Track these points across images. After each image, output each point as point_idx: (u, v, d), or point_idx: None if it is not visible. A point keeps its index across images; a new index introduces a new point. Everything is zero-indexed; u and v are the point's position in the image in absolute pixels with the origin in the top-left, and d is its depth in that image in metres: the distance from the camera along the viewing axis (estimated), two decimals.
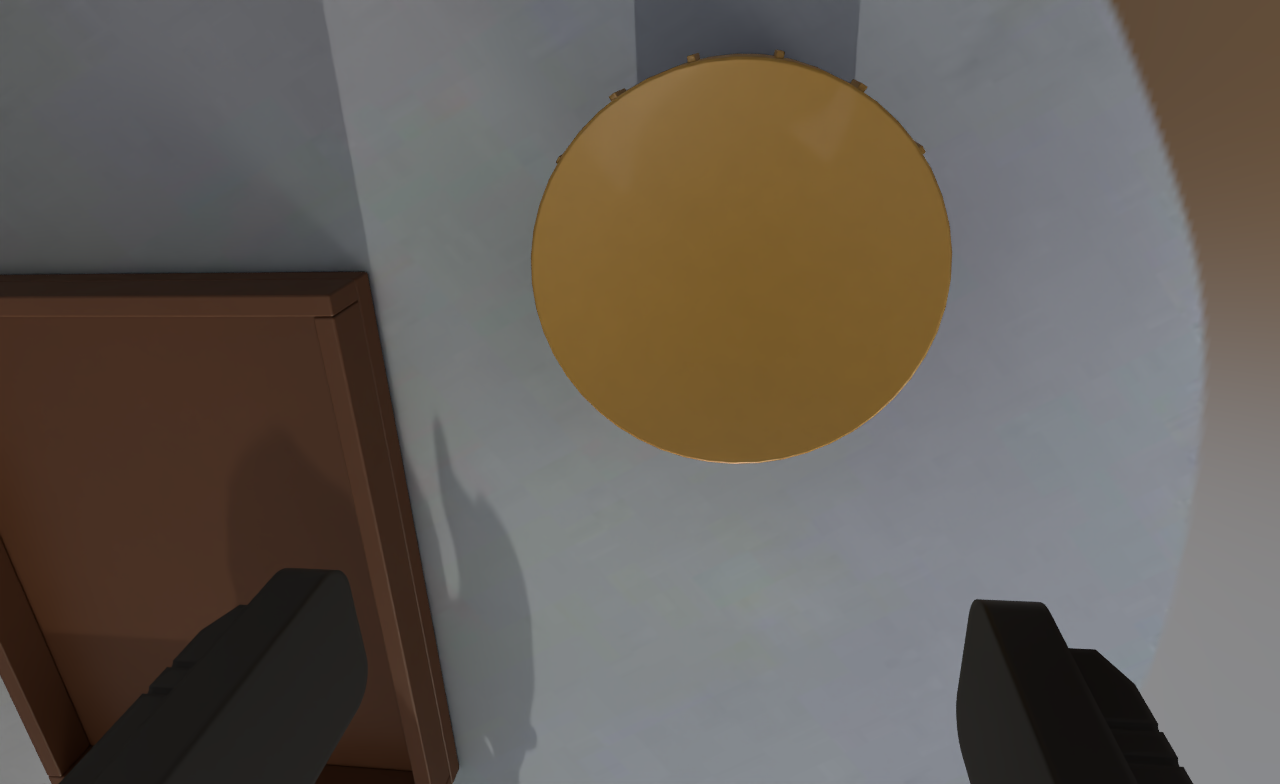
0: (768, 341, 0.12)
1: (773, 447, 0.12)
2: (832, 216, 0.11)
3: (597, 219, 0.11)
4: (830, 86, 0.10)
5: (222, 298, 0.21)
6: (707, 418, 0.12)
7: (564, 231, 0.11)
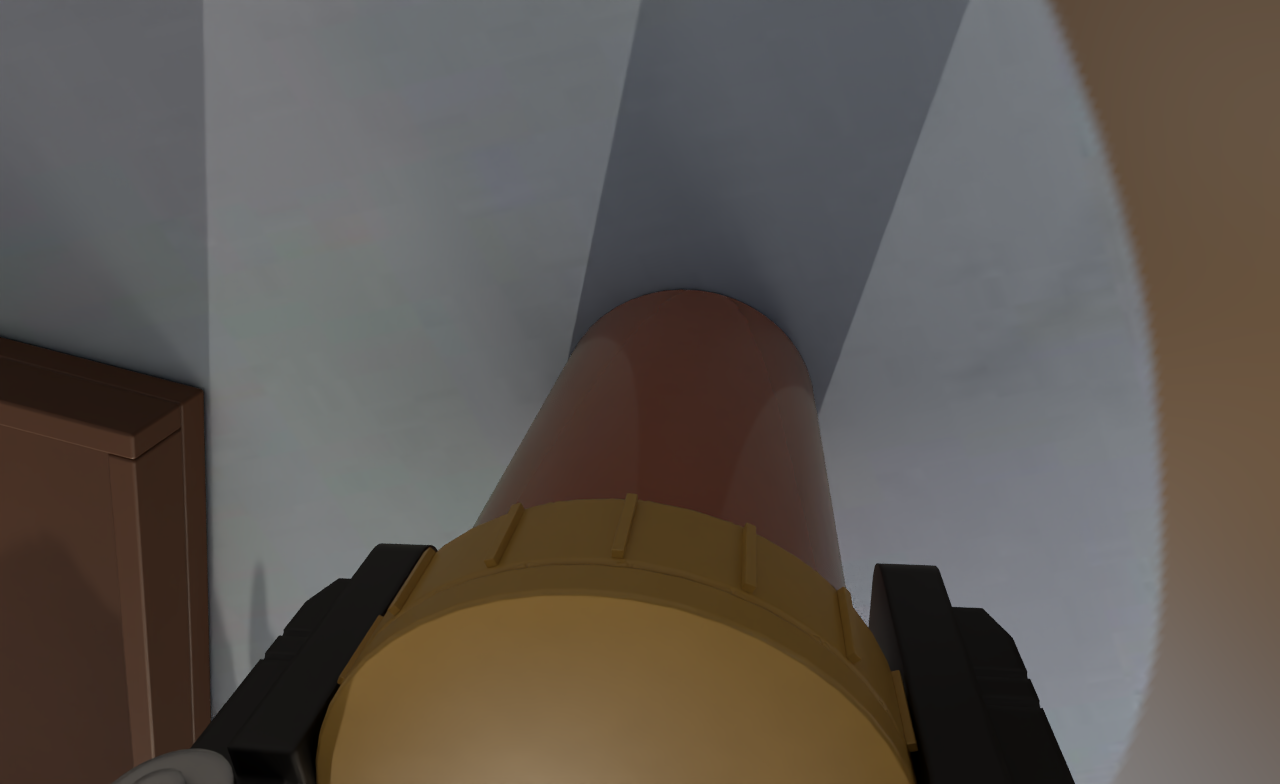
0: None
1: None
2: None
3: (426, 723, 0.07)
4: (809, 680, 0.07)
5: None
6: None
7: (374, 722, 0.07)
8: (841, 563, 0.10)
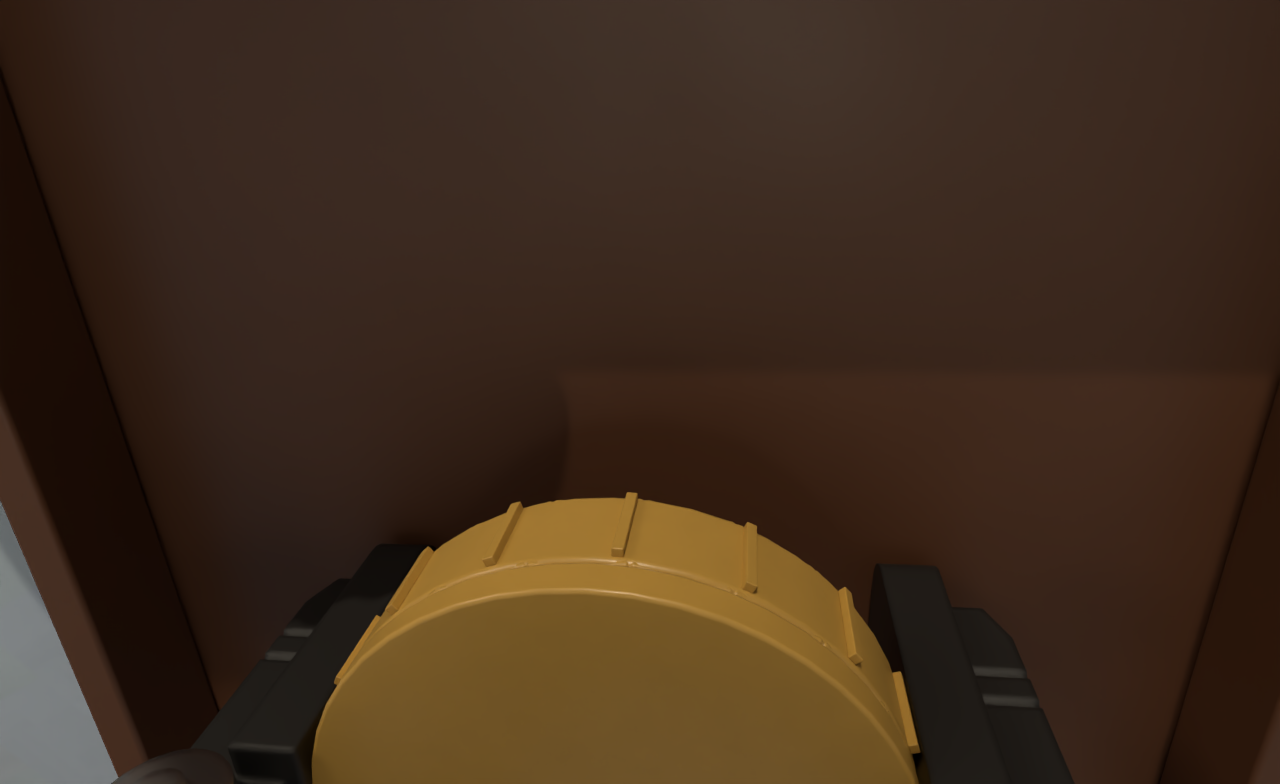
0: None
1: None
2: None
3: (424, 723, 0.07)
4: (811, 680, 0.07)
5: None
6: None
7: (371, 722, 0.07)
8: None
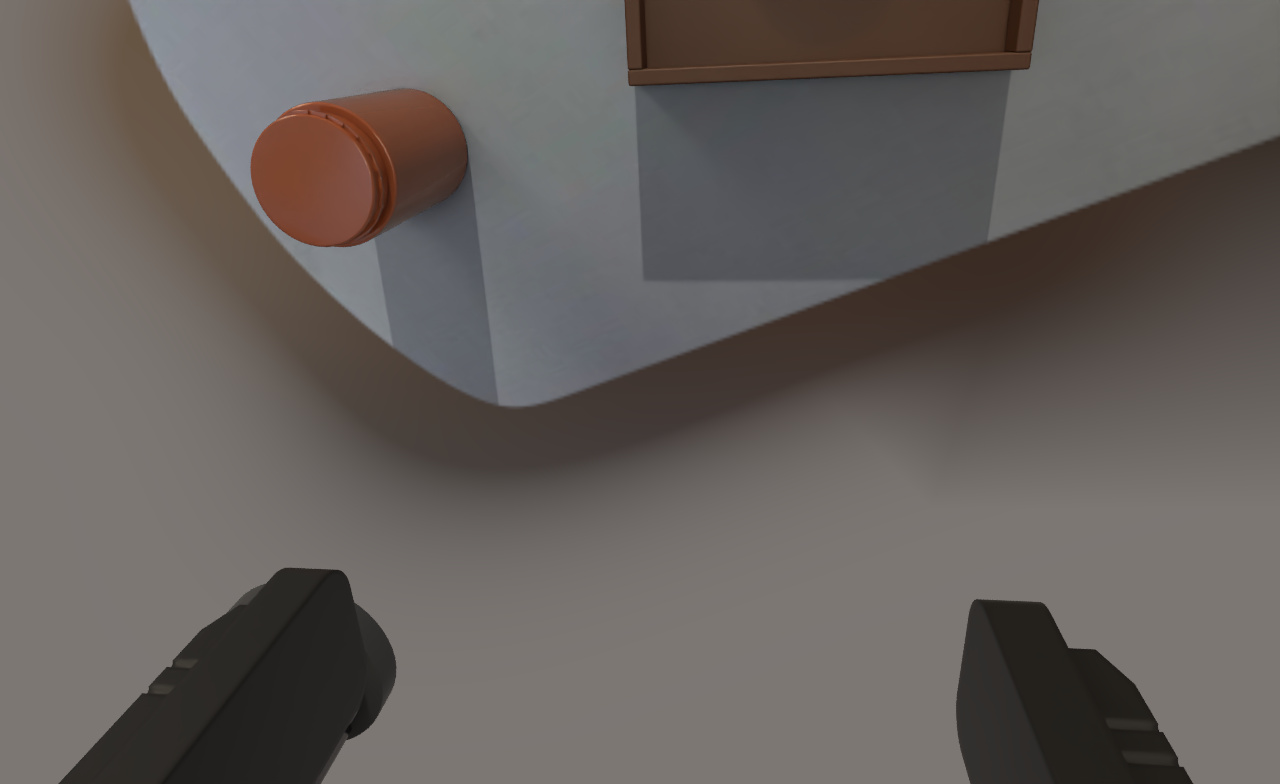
0: None
1: None
2: None
3: None
4: None
5: (702, 80, 0.32)
6: None
7: None
8: None
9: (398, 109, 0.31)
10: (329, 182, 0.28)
